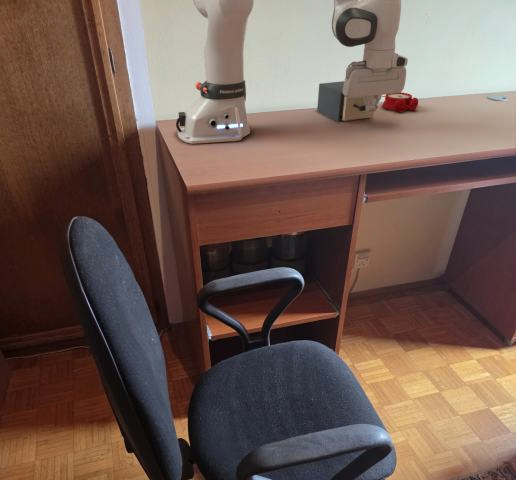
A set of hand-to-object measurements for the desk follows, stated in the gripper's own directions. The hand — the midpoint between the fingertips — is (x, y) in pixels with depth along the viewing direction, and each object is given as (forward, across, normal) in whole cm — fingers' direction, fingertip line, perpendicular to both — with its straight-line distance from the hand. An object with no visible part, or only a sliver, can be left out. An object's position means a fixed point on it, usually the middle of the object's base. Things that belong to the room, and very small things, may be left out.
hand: (370, 111), depth 141 cm
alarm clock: (+5, +22, +14) cm, 26 cm away
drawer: (+4, 0, +10) cm, 11 cm away
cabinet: (+5, 0, +16) cm, 16 cm away
